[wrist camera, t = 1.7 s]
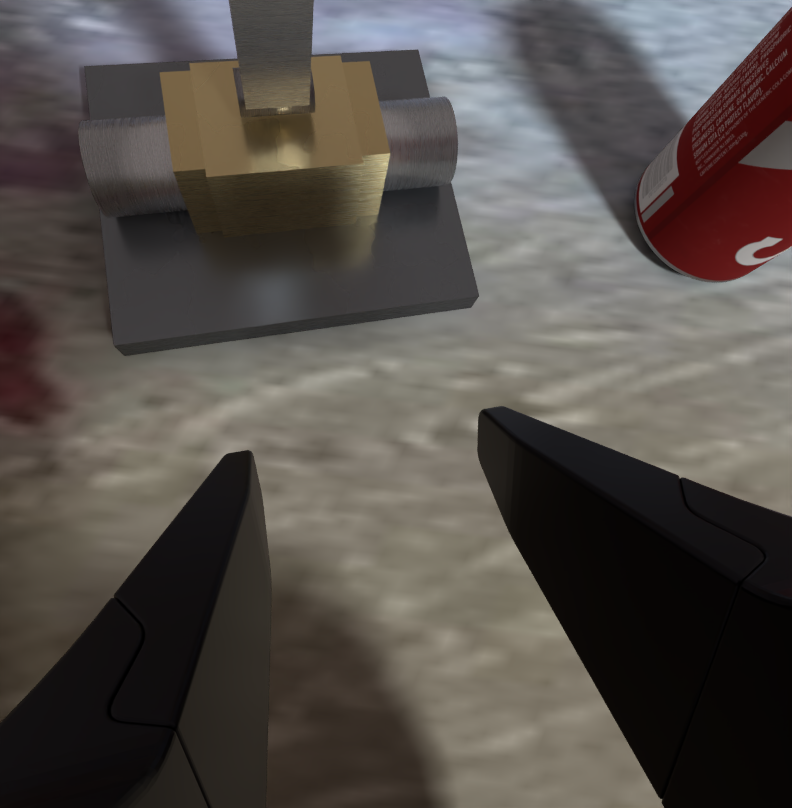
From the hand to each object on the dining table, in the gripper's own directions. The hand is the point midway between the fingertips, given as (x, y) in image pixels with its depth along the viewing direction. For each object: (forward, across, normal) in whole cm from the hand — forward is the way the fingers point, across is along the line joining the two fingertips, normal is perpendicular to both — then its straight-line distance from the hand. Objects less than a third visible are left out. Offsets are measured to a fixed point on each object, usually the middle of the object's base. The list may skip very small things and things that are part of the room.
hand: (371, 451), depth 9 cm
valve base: (+18, 0, -1) cm, 18 cm away
